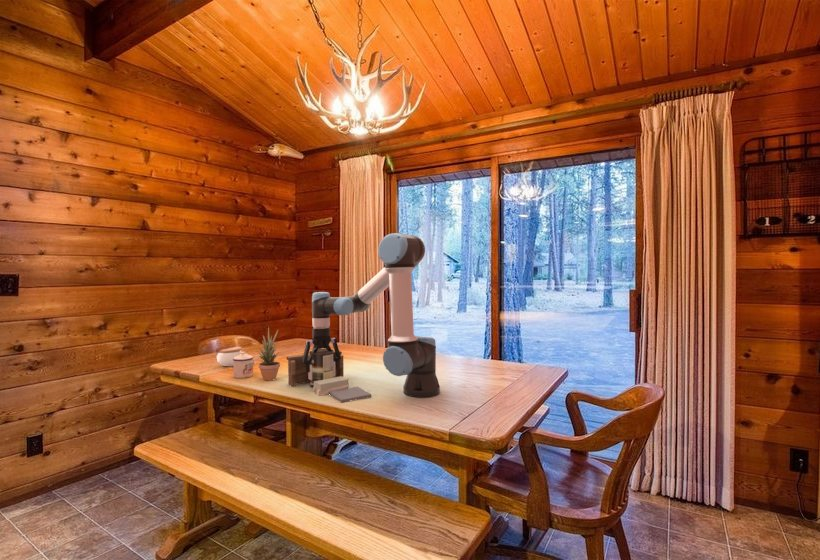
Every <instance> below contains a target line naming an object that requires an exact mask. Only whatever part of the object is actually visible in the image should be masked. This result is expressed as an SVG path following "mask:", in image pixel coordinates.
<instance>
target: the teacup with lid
mask: <svg viewBox="0 0 820 560" xmlns="http://www.w3.org/2000/svg"><path fill="white" fill-rule="evenodd" d="M254 365H255V360H254V356H253V355H250V354H248V353H246V351H241V354H239V355H238V356H236V357H234V358H233V366H232V367H233V377H234V378H235V379H246V378H245V377H247V378H250V376H251V377H253V375H254Z"/></svg>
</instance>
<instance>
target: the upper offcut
mask: <svg viewBox="0 0 820 560" xmlns="http://www.w3.org/2000/svg"><path fill="white" fill-rule="evenodd" d="M346 385H348V386H349V378H346V377H345V376H344V377H342V376H340V377H334V378H329V379H324V380H319V381H314V385H313V387H314V388H316V389H318V390H320V391H321V390H326V389H331V388H336V387H341V386H346Z"/></svg>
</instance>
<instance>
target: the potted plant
mask: <svg viewBox="0 0 820 560" xmlns="http://www.w3.org/2000/svg"><path fill="white" fill-rule="evenodd" d="M269 327H270V326H268V328H267V330H268V331H267V341H266V338H265V335H262V337H263V340H261V341H262V347H263V349H261V347H259V348H258V349H259V351H260V352H259V355H258V357H259V358H260V359H261V362H260V363H258V369H259V370H260V375H261V377H262V380H263V381H265V380H270V381H274V380H273V379H275V380H276V379H277V376H278V372H279V368H280V366H281V363H280V362H279V361H275V359H276V357H277V356H278V354H279V353H280V352H277V353H275V352H276V346H277V344H278V341H276V338H277V335H278V333H279V329H277V330H276V333H275V334H274V337H273V335H270V328H269ZM270 336H271V337H270ZM275 341H276V343H275ZM274 343H275V344H274Z"/></svg>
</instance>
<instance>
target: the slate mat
mask: <svg viewBox="0 0 820 560" xmlns="http://www.w3.org/2000/svg"><path fill="white" fill-rule="evenodd" d="M329 394H330V396H331V397H333V398H334V399H335V400H337V401H338V402H340V403H345V401H347V402H351V401H350V400H352V401H356V400H355V399H357V400H362V399H361V398H363V399H367V397H368V398H372V394H371V393H369V392H368V391H366V390H364V389H363V388H361V387H359V386H354V387H348V388H347V389H341V390H335V391H329ZM329 394H328V395H329Z"/></svg>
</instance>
